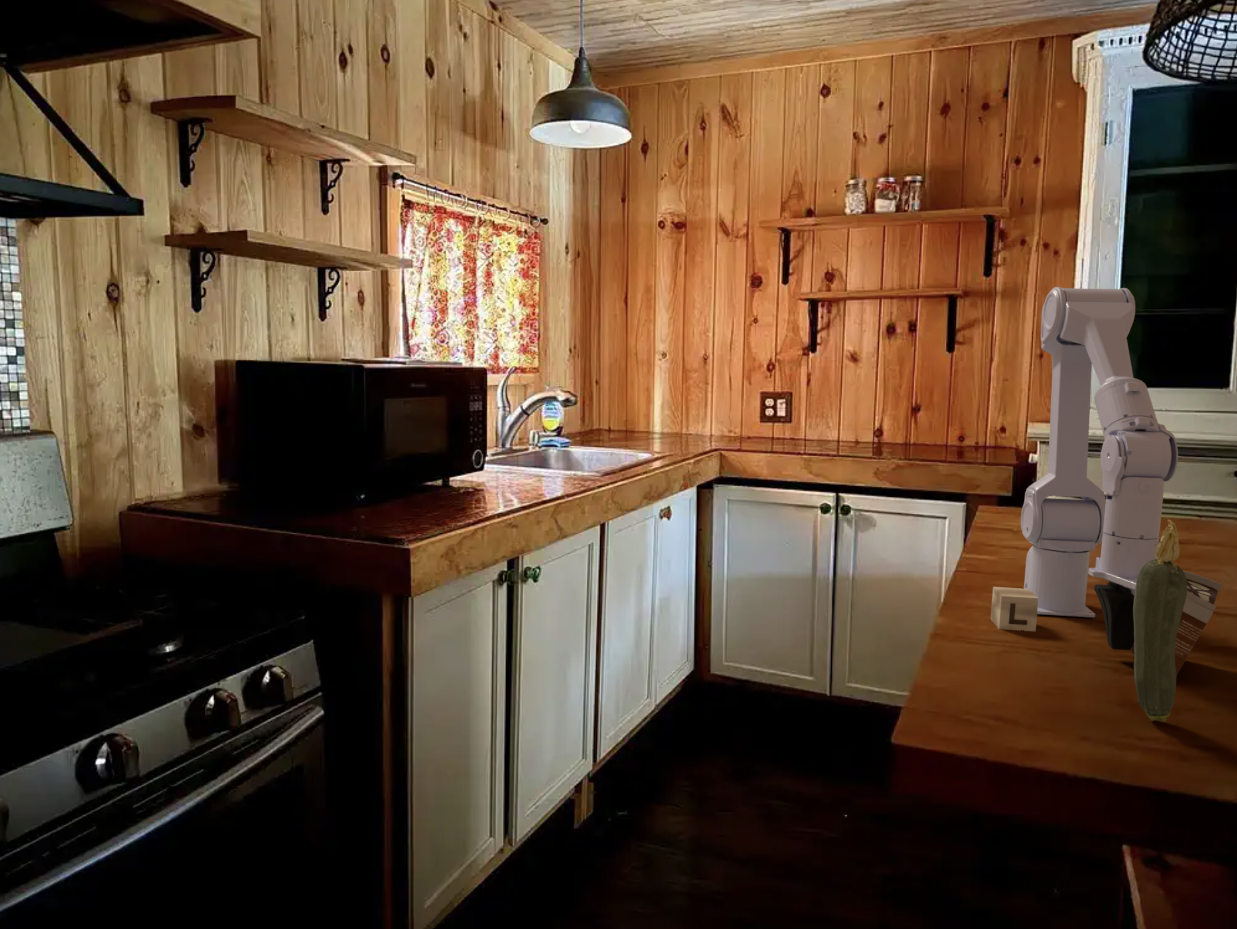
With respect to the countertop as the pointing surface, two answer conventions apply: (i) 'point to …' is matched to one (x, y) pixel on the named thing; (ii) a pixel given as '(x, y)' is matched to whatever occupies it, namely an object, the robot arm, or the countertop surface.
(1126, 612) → the robot arm
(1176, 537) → the vegetable
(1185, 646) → the food container
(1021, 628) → the letter cube
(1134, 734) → the countertop surface
